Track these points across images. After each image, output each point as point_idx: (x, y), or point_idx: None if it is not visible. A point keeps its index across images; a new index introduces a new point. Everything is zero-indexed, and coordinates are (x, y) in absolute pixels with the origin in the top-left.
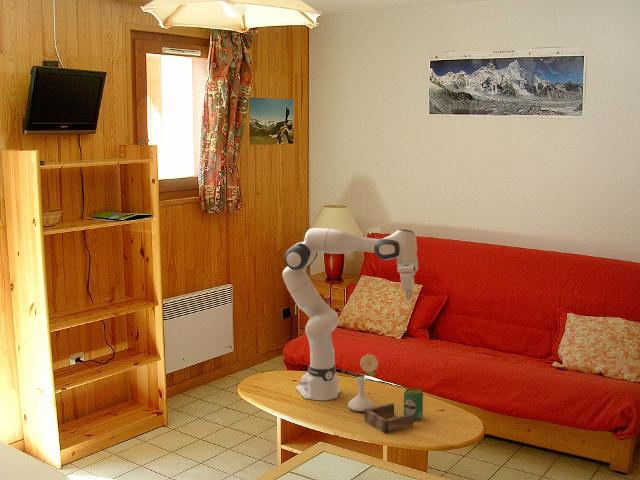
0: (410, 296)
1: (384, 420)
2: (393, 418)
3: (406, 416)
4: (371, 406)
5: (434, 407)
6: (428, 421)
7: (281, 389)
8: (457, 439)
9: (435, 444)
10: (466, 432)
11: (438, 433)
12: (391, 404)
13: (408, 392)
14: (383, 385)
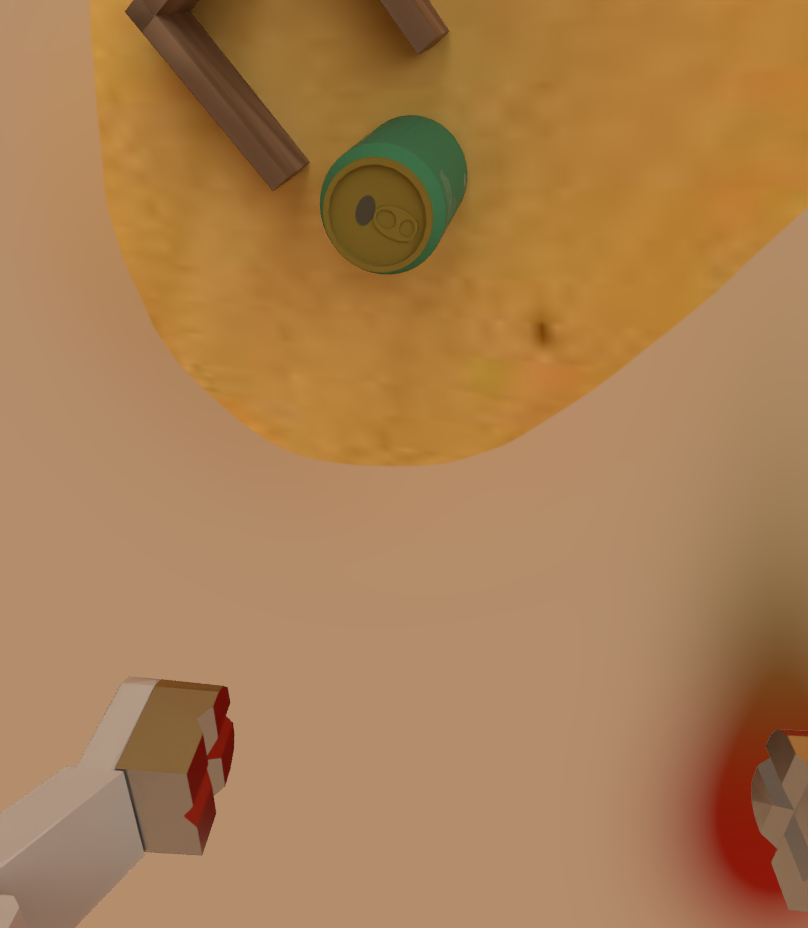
0: (779, 815)
1: (142, 3)
2: (190, 64)
3: (241, 148)
4: None
5: (579, 297)
6: None
7: None
8: (212, 372)
9: (133, 279)
10: (292, 414)
11: (249, 298)
12: (411, 32)
13: (336, 182)
14: None
